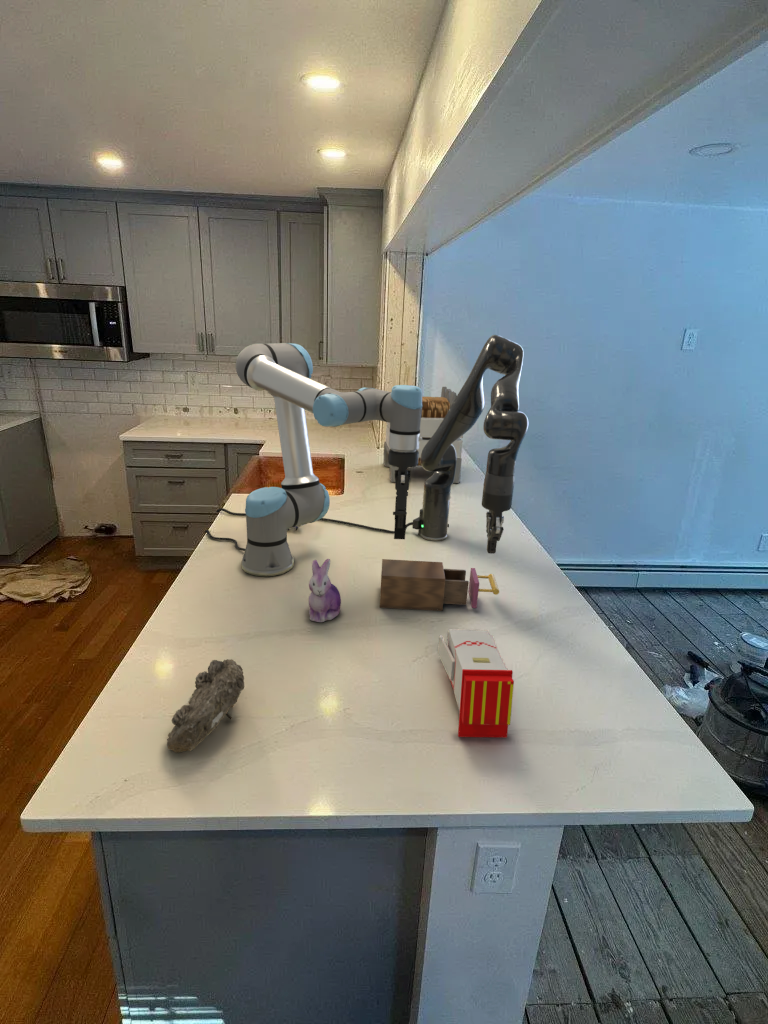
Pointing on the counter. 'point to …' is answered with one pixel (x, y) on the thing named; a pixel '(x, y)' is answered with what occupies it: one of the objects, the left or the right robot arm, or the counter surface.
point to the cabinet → (412, 585)
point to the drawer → (465, 587)
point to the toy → (478, 682)
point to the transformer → (430, 429)
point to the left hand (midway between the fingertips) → (399, 528)
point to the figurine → (323, 594)
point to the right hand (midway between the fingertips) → (490, 552)
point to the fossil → (206, 705)
